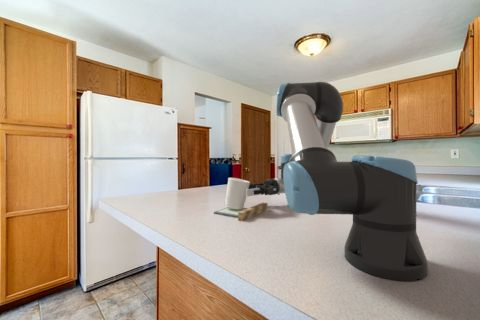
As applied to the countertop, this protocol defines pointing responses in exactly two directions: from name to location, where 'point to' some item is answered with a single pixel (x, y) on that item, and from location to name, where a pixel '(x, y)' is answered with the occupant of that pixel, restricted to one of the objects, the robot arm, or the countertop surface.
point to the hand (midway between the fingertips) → (237, 190)
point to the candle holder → (236, 193)
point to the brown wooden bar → (252, 211)
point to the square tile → (229, 212)
